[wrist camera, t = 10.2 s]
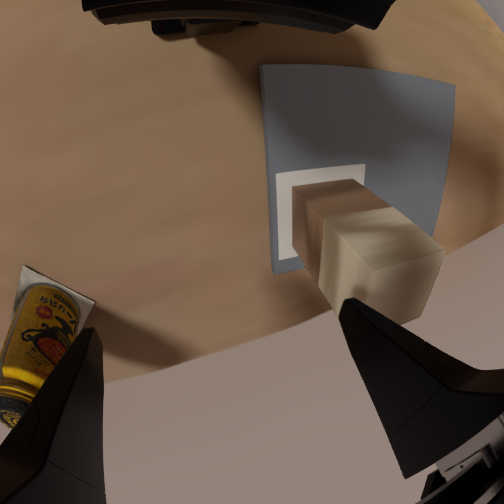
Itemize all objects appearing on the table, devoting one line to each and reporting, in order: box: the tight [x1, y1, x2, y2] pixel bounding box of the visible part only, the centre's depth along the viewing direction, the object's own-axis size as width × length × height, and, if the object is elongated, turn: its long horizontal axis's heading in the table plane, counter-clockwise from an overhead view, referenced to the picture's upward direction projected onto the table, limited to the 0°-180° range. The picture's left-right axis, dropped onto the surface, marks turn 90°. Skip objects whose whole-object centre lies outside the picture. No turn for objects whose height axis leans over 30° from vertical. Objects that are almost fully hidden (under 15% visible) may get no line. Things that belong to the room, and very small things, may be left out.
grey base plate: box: [259, 64, 455, 275], centre depth 21 cm, size 16×18×1 cm
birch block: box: [318, 207, 446, 325], centre depth 16 cm, size 5×5×5 cm
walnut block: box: [292, 179, 392, 285], centre depth 20 cm, size 5×5×5 cm
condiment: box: [0, 265, 95, 429], centre depth 17 cm, size 7×8×12 cm
